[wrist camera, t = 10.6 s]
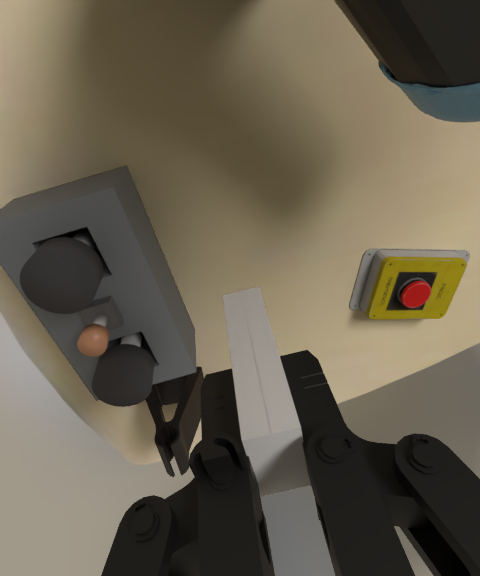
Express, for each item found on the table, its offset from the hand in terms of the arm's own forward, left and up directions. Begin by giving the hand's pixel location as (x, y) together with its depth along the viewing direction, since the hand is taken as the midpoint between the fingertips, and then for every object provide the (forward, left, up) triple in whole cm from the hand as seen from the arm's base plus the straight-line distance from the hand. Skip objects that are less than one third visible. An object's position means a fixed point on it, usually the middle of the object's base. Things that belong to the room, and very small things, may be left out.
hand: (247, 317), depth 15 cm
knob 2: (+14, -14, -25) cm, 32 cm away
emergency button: (+21, +21, -27) cm, 41 cm away
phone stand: (+28, -14, -27) cm, 41 cm away
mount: (+8, -14, -27) cm, 31 cm away
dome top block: (+8, -14, -19) cm, 25 cm away
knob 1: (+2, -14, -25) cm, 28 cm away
